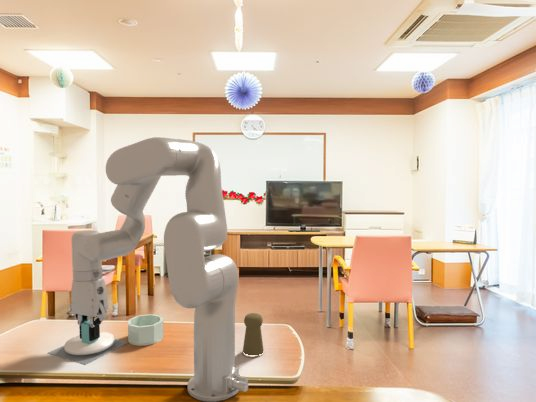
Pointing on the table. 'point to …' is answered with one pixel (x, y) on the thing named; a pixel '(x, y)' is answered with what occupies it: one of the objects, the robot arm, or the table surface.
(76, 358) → the mat
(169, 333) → the table surface
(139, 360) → the table surface
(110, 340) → the lid
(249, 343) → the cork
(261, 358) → the table surface
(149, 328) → the bowl
